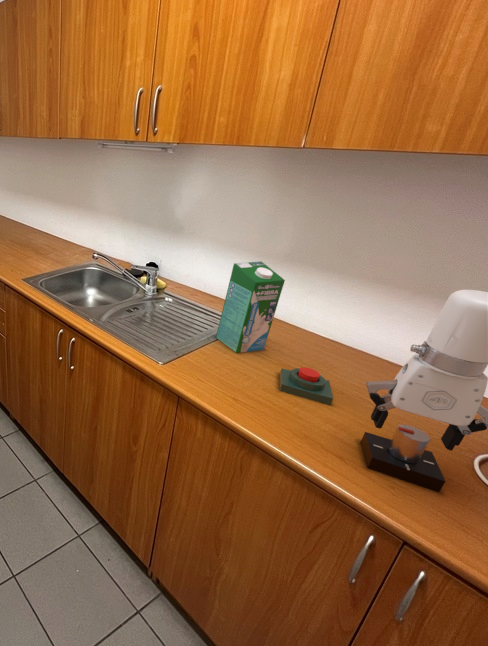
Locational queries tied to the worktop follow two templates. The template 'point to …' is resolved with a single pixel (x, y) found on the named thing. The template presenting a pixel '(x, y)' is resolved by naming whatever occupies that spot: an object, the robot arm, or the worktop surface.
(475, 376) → the robot arm
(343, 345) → the worktop surface
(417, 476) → the dial panel
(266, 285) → the milk carton
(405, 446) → the dial
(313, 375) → the button
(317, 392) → the button block
